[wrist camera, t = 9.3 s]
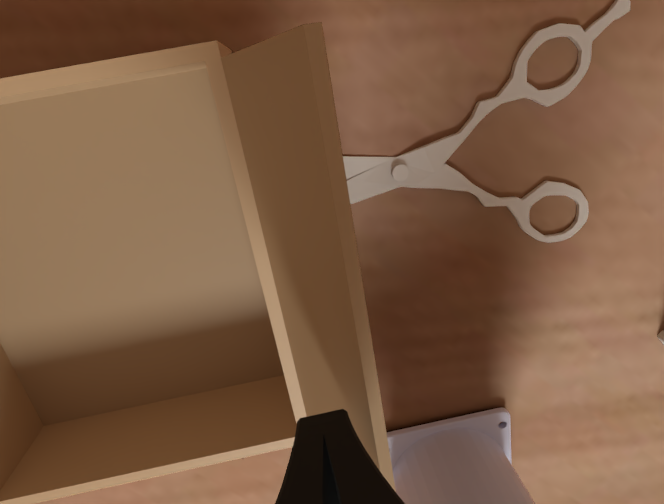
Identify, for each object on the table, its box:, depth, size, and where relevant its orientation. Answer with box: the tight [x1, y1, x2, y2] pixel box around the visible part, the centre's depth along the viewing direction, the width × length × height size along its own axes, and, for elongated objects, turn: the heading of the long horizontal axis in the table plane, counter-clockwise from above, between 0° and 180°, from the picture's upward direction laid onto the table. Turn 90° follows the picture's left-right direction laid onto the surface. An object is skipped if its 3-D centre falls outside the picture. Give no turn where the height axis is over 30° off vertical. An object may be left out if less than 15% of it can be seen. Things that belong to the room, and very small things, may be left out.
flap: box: [221, 22, 396, 492], centre depth 14 cm, size 15×6×1 cm
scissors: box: [343, 0, 630, 243], centre depth 21 cm, size 11×1×20 cm
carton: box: [0, 40, 307, 504], centre depth 19 cm, size 16×14×5 cm
